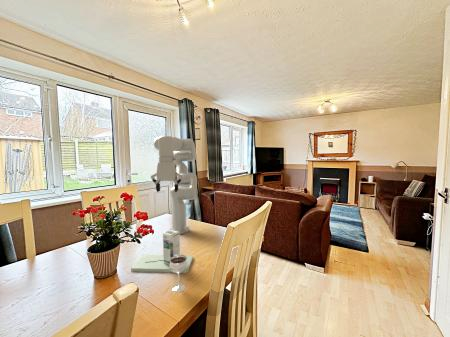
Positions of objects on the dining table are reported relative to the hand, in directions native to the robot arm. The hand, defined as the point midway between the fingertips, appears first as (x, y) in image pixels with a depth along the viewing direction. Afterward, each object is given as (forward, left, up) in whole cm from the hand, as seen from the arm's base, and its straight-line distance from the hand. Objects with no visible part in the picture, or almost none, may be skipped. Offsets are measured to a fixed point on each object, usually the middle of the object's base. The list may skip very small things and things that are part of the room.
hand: (167, 191), depth 105 cm
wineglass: (+29, +14, -34) cm, 46 cm away
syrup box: (+13, +6, -32) cm, 35 cm away
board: (+13, +2, -33) cm, 36 cm away
